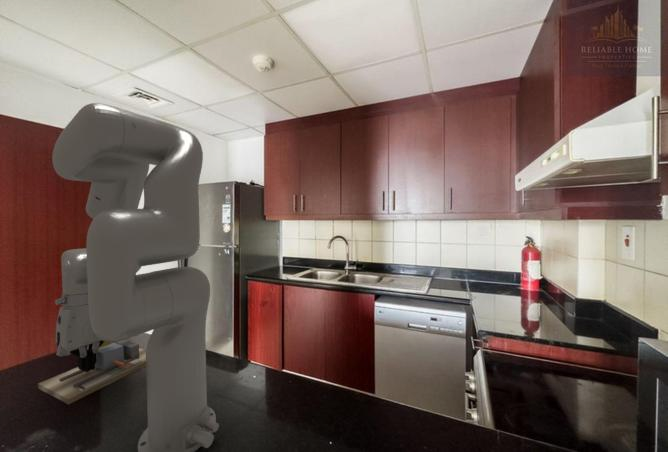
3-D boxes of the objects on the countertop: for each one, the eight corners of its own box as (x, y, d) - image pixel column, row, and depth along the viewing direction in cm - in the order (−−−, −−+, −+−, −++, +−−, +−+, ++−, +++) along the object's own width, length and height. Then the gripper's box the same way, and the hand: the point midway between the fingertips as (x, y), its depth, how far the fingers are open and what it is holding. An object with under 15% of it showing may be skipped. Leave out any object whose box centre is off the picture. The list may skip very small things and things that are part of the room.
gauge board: (160, 358, 75) (159, 340, 75) (68, 404, 57) (67, 381, 57) (130, 349, 81) (129, 332, 81) (38, 388, 62) (37, 367, 62)
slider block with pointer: (132, 364, 70) (132, 348, 69) (113, 374, 65) (112, 356, 65) (114, 358, 73) (113, 342, 73) (94, 367, 69) (93, 350, 68)
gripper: (50, 309, 57) (54, 391, 57) (127, 291, 70) (129, 357, 71) (34, 305, 59) (38, 383, 60) (111, 288, 73) (113, 352, 74)
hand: (87, 369), depth 66 cm, fingers closed
